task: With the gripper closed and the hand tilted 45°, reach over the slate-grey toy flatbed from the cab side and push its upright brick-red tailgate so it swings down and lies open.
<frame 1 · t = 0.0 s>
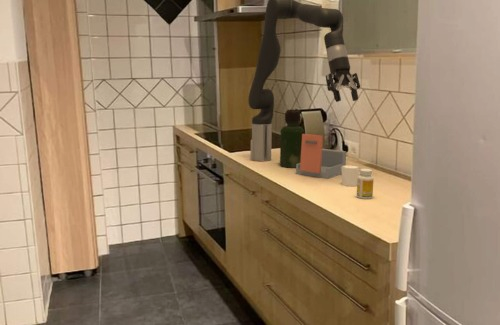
hand: (347, 100, 190), 31 cm above the counter, tool tilted 20°, fingers open, 8 cm apart
supplement bottle: (364, 197, 175), on the counter
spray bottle: (291, 166, 228), on the counter
shot glass: (349, 185, 193), on the counter
flatbed: (310, 176, 207), on the counter
tailgate: (311, 153, 205), point 10 cm above the counter, hinge at -4.0°
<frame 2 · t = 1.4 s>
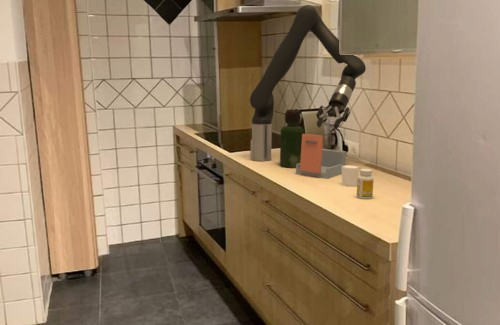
hand: (326, 127, 213), 19 cm above the counter, tool tilted 45°, fingers open, 7 cm apart
nothing on the counter moved.
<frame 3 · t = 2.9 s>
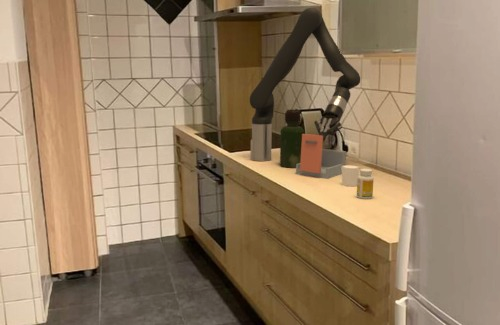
hand: (320, 141, 210), 14 cm above the counter, tool tilted 45°, fingers closed
nothing on the counter moved.
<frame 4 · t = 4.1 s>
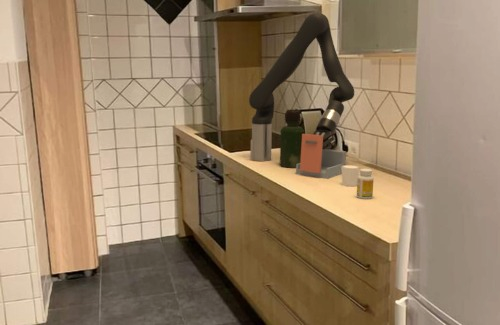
hand: (312, 155, 207), 8 cm above the counter, tool tilted 45°, fingers closed
tailgate: (311, 153, 205), point 10 cm above the counter, hinge at -4.0°, touching gripper
everything else where it was.
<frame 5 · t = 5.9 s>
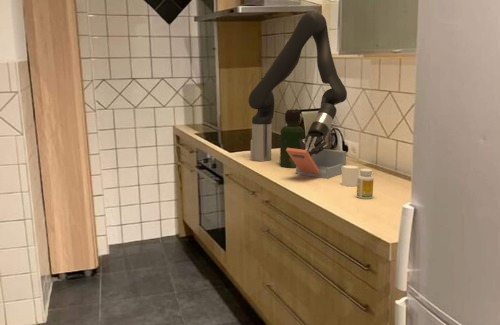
hand: (304, 160, 202), 7 cm above the counter, tool tilted 45°, fingers closed
tailgate: (303, 161, 201), point 7 cm above the counter, hinge at 46.7°, touching gripper
everything else where it was.
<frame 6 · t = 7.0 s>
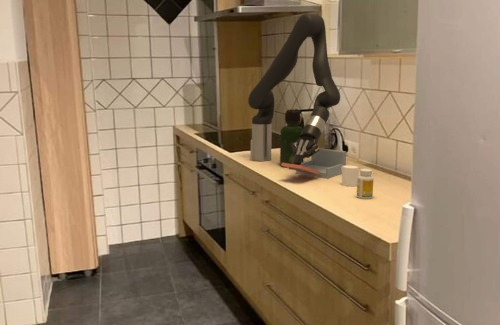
hand: (296, 164, 197), 7 cm above the counter, tool tilted 45°, fingers closed
tailgate: (300, 169, 200), point 4 cm above the counter, hinge at 71.5°, touching gripper
everything else where it was.
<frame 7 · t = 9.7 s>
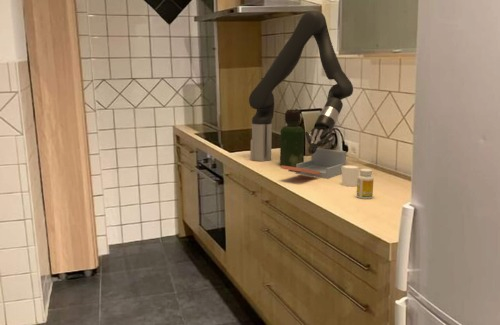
hand: (310, 152, 205), 10 cm above the counter, tool tilted 45°, fingers closed
tailgate: (300, 170, 200), point 4 cm above the counter, hinge at 75.5°
everything else where it was.
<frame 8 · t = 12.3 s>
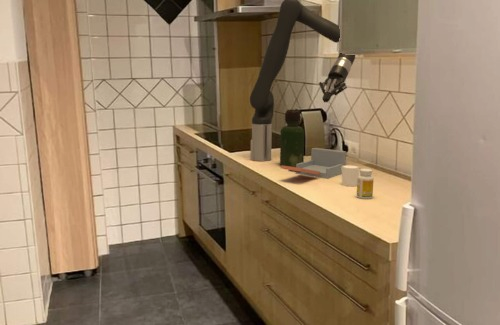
hand: (325, 100, 210), 30 cm above the counter, tool tilted 45°, fingers closed
nothing on the counter moved.
at the end: tailgate at +76° (first picture: -4°) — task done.
